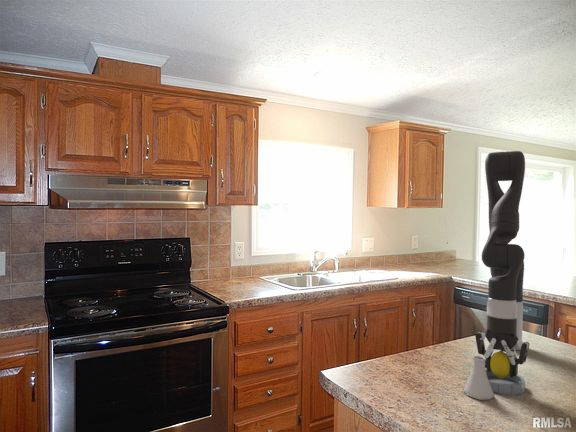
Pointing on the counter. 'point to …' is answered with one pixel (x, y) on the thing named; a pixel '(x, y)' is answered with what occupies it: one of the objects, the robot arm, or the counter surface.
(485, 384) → the flask
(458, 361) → the counter surface
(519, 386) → the dish
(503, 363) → the lemon
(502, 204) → the robot arm
